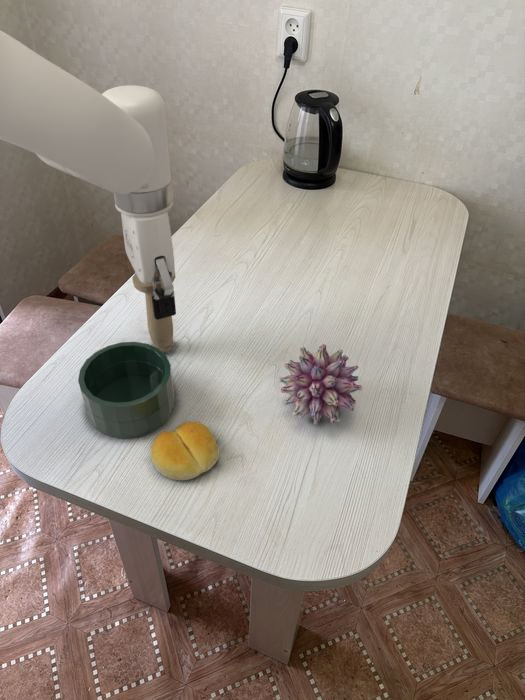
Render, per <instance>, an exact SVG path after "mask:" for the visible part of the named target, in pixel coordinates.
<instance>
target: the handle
mask: <svg viewBox="0 0 525 700" xmlns="http://www.w3.org/2000/svg"><path fill="white" fill-rule="evenodd" d="M157 276H159V275H158V272H155V274H154V277H157ZM170 278H171V277H170ZM175 280H176V273H175V274H174V276H173V277H172V278H171V281H172V284H174V282H175ZM132 284H133V287H134V289H136V290H137V291H138V292H140V293H143V294H144V296H145V307H146V309H145V310H146V323H147V329H148V334H149V338H150V341H151V345H152V346H154V347H156V348H158V349H159V350H161V351H162V352H163V353H164V354H165V353H170V352H171V350H172V348H173V346H174V322H173V316H170V317H166V318H162V319H158V320H156V319H155V317H154V311H153V304H152V296H154V295H153V291H152V287H151V283H147V284H144V283H142V282H141V281H140V280H139V278H138V276H137V274H136V272H134V274H133V276H132ZM156 286H157V290H159V289H161V281H157V282H156Z"/></svg>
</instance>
